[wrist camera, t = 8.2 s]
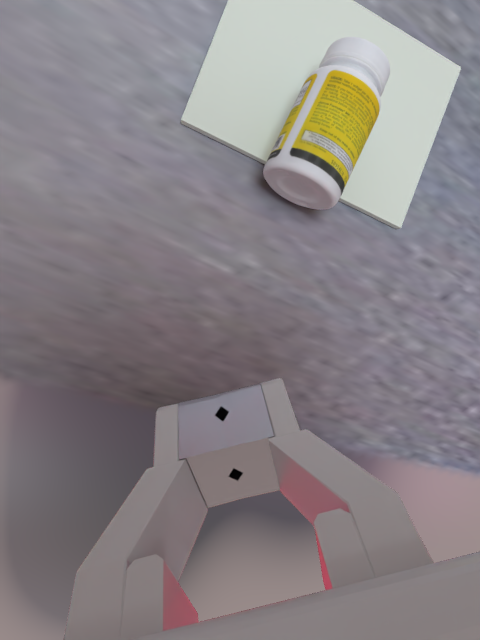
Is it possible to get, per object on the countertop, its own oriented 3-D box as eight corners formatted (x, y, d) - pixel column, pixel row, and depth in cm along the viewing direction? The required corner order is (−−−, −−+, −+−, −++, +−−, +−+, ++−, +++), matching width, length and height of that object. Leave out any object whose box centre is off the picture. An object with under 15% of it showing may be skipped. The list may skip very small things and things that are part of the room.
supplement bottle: (348, 216, 23) (408, 90, 24) (312, 168, 20) (382, 20, 20) (286, 207, 26) (340, 96, 27) (245, 164, 23) (307, 37, 23)
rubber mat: (180, 123, 24) (180, 119, 24) (250, -55, 25) (252, -62, 24) (396, 229, 28) (401, 227, 27) (455, 71, 28) (461, 67, 28)
